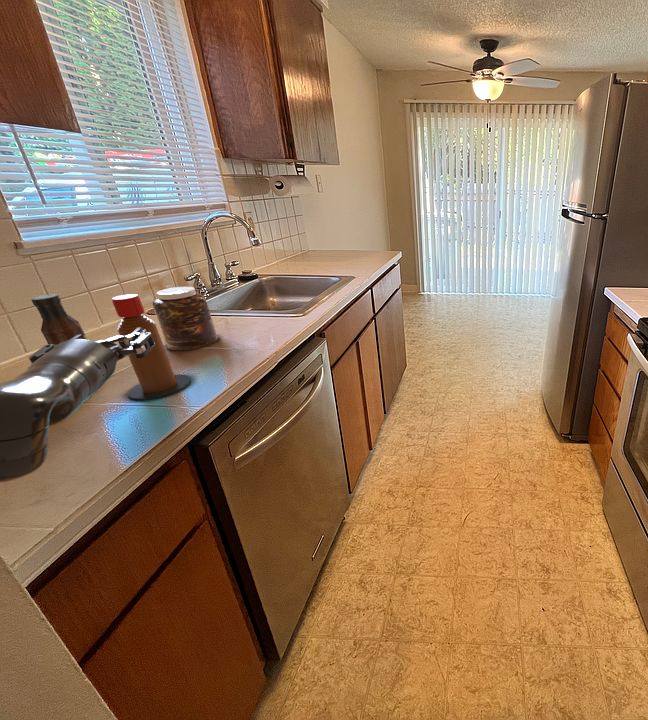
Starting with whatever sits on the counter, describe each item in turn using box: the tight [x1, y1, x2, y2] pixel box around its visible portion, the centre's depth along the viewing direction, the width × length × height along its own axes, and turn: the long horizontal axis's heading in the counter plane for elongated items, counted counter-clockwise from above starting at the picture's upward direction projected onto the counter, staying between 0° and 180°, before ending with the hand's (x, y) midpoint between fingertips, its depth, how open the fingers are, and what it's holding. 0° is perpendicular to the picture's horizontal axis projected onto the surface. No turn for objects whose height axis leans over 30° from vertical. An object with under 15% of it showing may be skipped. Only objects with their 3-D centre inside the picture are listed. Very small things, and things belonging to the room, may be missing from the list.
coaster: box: [127, 374, 192, 401], centre depth 87 cm, size 11×11×1 cm
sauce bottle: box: [30, 293, 90, 347], centre depth 87 cm, size 7×6×20 cm
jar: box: [152, 286, 219, 351], centre depth 108 cm, size 12×12×15 cm
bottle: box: [117, 313, 177, 393], centre depth 82 cm, size 6×6×20 cm
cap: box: [111, 293, 145, 318], centre depth 79 cm, size 4×4×4 cm
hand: (113, 336), depth 71 cm, fingers open, 8 cm apart
